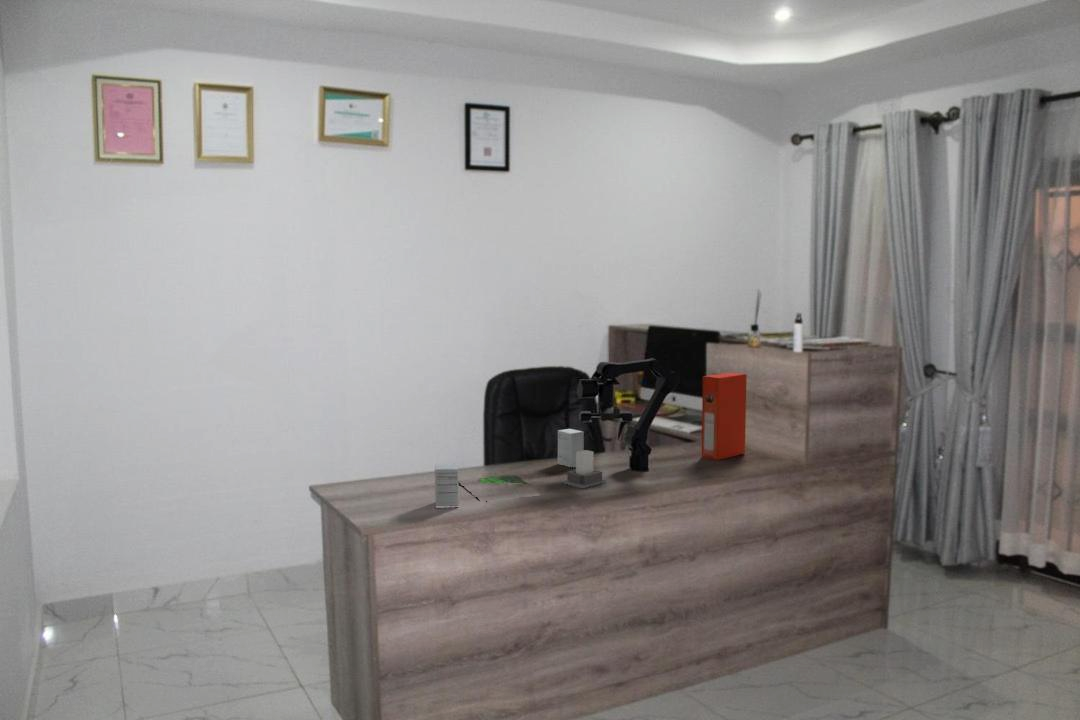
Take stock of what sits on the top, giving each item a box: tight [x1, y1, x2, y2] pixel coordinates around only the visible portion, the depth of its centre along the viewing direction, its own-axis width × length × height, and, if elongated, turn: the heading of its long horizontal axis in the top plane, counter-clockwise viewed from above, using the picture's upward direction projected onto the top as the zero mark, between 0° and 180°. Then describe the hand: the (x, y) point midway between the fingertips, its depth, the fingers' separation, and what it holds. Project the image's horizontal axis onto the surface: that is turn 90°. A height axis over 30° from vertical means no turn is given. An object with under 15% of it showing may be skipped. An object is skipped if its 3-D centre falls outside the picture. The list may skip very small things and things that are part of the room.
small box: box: [557, 428, 585, 469], centre depth 324 cm, size 8×6×13 cm
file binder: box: [701, 372, 747, 461], centre depth 338 cm, size 8×17×32 cm, turn 130°
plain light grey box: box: [575, 449, 594, 475], centre depth 298 cm, size 5×4×10 cm
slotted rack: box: [562, 468, 607, 489], centre depth 298 cm, size 12×9×4 cm
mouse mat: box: [478, 475, 531, 486], centre depth 291 cm, size 27×22×1 cm
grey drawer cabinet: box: [434, 463, 460, 507], centre depth 271 cm, size 7×7×13 cm
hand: (605, 439), depth 313 cm, fingers open, 9 cm apart
